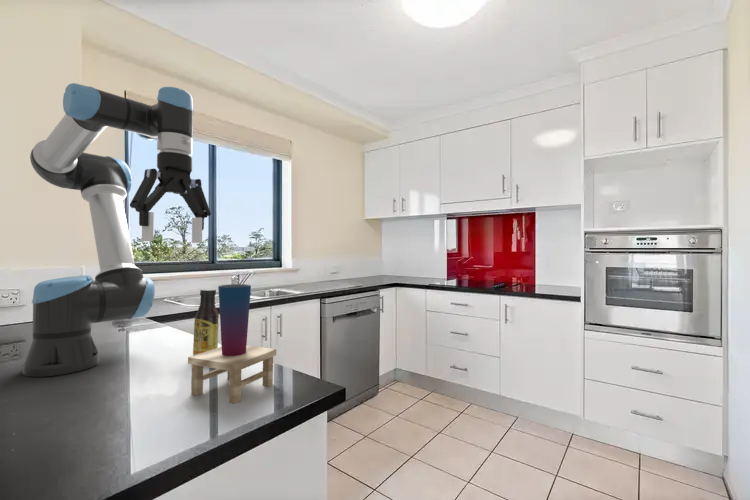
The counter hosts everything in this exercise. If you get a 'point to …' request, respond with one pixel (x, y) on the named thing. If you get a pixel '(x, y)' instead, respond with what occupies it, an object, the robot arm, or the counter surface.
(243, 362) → the beige streaked flat-top fixture
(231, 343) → the cup
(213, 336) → the sauce bottle
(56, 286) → the robot arm
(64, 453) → the counter surface
